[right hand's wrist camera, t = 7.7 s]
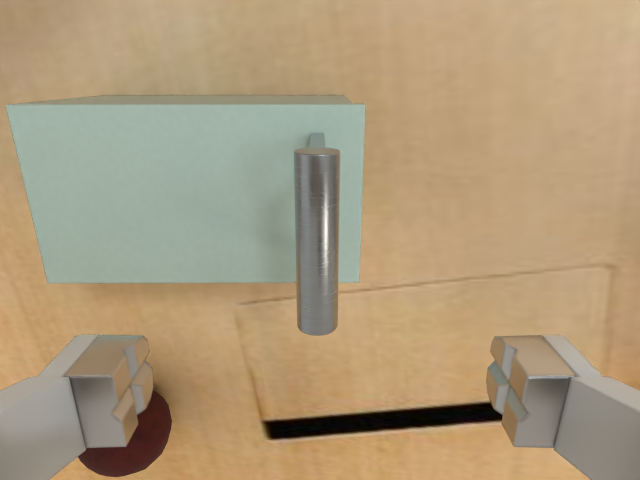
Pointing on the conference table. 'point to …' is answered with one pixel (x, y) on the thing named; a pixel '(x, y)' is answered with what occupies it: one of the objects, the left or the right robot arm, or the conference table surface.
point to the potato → (134, 443)
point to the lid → (198, 195)
